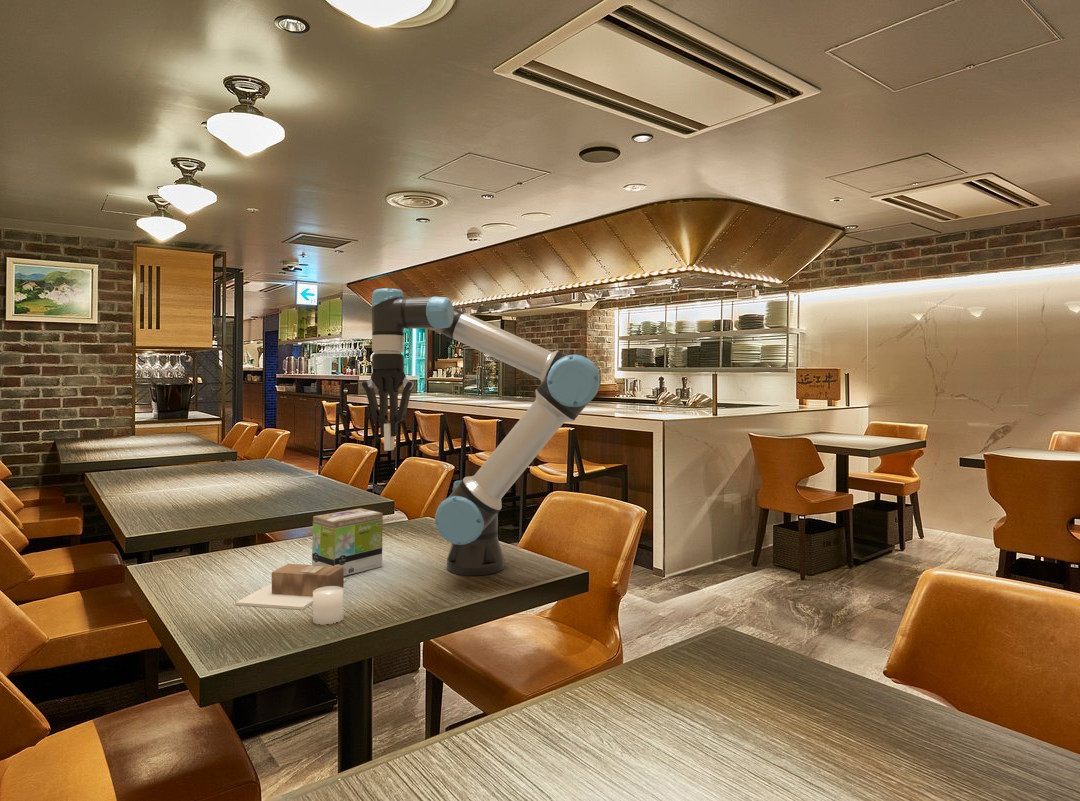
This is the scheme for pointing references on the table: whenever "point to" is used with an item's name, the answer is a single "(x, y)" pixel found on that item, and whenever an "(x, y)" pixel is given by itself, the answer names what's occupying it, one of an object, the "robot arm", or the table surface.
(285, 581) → the wooden block
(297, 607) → the felt mat
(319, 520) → the tea box
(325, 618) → the white pillar candle
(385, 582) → the table surface
